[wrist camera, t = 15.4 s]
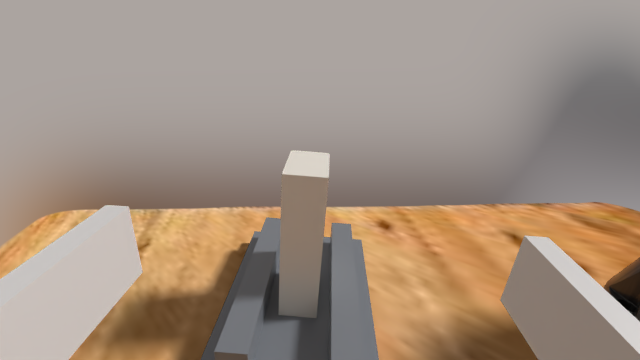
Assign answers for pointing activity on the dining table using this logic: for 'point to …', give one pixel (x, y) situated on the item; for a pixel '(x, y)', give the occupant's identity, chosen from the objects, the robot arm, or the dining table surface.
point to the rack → (291, 331)
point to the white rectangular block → (302, 232)
